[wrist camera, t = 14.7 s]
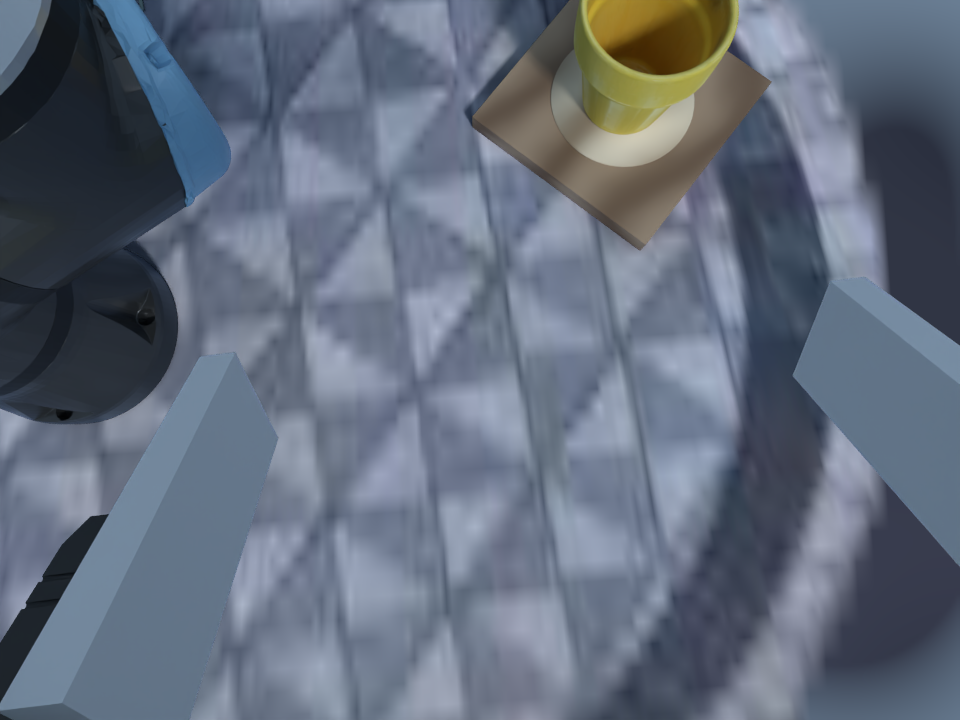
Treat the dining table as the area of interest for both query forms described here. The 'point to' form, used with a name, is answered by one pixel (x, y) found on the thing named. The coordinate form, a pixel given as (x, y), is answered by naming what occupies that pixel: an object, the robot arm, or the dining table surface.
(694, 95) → the trivet board
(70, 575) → the robot arm
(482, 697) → the dining table surface
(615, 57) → the plant pot
